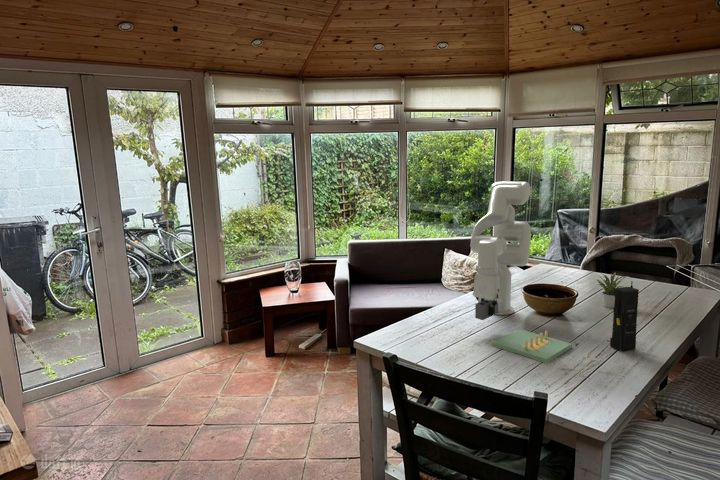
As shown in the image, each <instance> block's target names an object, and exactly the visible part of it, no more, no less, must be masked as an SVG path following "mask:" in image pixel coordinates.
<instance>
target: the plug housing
mask: <svg viewBox="0 0 720 480" xmlns="http://www.w3.org/2000/svg"><path fill="white" fill-rule="evenodd" d="M496 300H497V299H496ZM474 306H475V307H474V308H475V310H474V312H475V315H474V318H475V319H477V320H481V321H484V320H486V319H488V318H490V317H492V316H495V315H497V313H498V304H496V305H495V313H494V315H492V316H489V306H490V302H489V300H487V299H486V300H483V301H481V302H479V303H478V302H477V303H475V305H474Z"/></svg>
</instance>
